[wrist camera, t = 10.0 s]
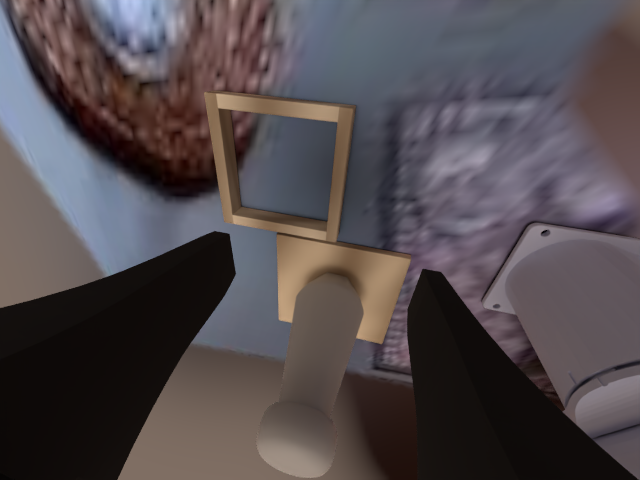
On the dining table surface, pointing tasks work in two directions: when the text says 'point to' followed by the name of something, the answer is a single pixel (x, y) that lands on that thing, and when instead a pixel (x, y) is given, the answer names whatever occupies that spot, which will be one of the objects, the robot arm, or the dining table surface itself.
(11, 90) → the dining table surface
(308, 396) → the beige bowling pin
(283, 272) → the cork mat
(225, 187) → the birch collar
